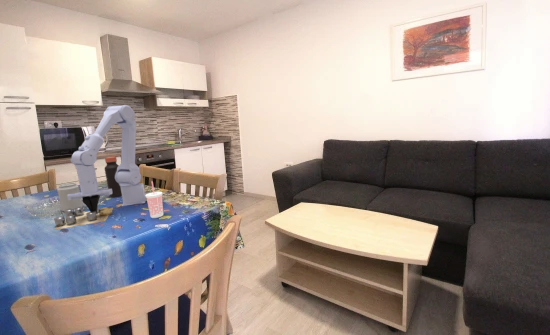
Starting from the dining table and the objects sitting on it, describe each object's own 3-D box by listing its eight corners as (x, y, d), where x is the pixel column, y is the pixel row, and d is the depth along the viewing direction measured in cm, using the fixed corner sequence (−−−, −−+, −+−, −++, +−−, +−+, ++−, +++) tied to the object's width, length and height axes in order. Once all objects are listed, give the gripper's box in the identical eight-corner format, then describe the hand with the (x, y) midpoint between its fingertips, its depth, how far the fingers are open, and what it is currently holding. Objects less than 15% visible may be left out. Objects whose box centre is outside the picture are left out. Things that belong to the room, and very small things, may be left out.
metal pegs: (102, 210, 113) (101, 203, 112) (95, 220, 101) (94, 213, 100) (66, 216, 108) (64, 209, 108) (53, 228, 96) (52, 220, 96)
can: (71, 213, 113) (66, 186, 111) (57, 213, 115) (51, 186, 112) (87, 207, 120) (82, 181, 118) (73, 207, 122) (68, 181, 120)
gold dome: (113, 211, 111) (112, 206, 110) (111, 215, 107) (110, 209, 106) (101, 213, 109) (99, 207, 108) (98, 217, 105) (97, 211, 104)
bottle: (106, 197, 135) (99, 158, 131) (116, 193, 141) (109, 156, 138) (118, 197, 134) (111, 158, 130) (127, 193, 140) (121, 156, 136)
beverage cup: (161, 211, 109) (156, 178, 106) (167, 215, 105) (163, 180, 102) (146, 216, 105) (140, 181, 102) (152, 219, 101) (146, 184, 98)
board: (113, 208, 116) (113, 207, 116) (105, 222, 101) (105, 220, 100) (69, 215, 110) (69, 214, 110) (53, 231, 95) (53, 229, 95)
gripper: (61, 186, 97) (69, 221, 100) (107, 180, 103) (113, 213, 105) (68, 182, 104) (75, 214, 106) (110, 177, 109) (116, 208, 112)
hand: (94, 214), depth 106 cm, fingers closed
